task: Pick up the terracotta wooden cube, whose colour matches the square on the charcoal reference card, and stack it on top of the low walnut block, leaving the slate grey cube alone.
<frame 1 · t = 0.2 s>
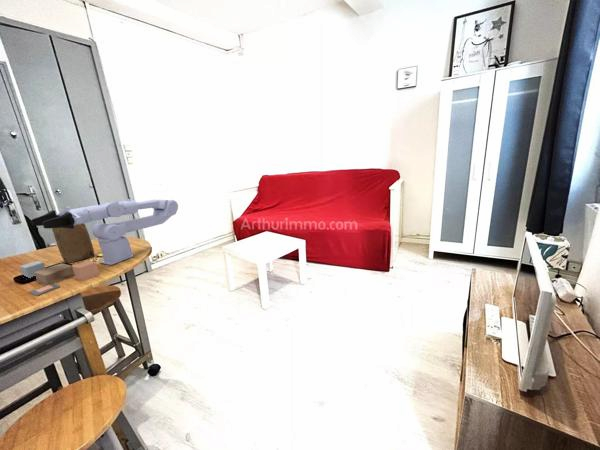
hand: (37, 224, 86), 21 cm above the table, tool horizontal, fingers open, 7 cm apart
reference card: (44, 289, 87), on the table
grey cube: (36, 276, 98), on the table
terracotta cube: (87, 276, 95), on the table
walnut base: (57, 279, 95), on the table
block: (80, 259, 113), on the table
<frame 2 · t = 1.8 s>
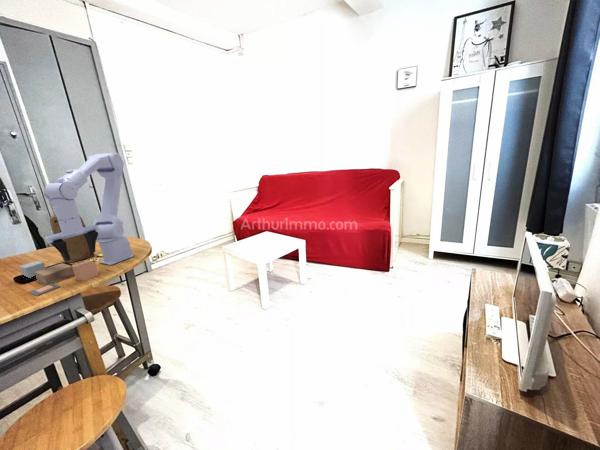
hand: (80, 255, 92), 8 cm above the table, tool pointing down, fingers open, 7 cm apart
nothing on the table moved.
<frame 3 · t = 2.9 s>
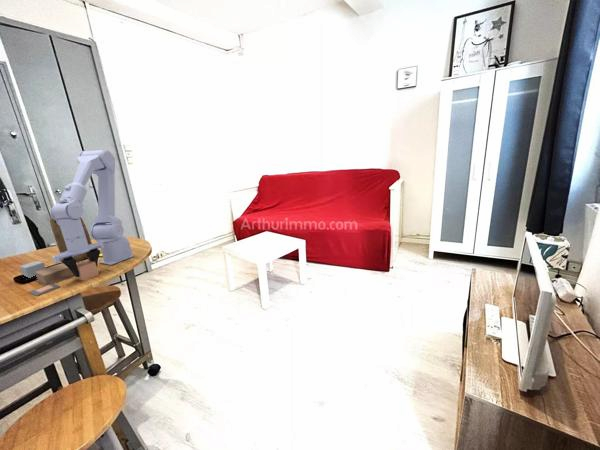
hand: (86, 273, 94), 1 cm above the table, tool pointing down, fingers closed on terracotta cube, 5 cm apart
terracotta cube: (87, 276, 95), on the table, touching gripper
everything else where it was.
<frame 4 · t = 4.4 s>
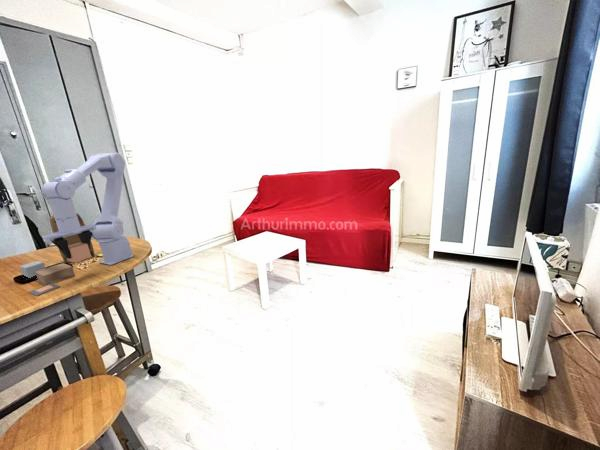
hand: (78, 255, 92), 8 cm above the table, tool pointing down, fingers closed on terracotta cube, 5 cm apart
terracotta cube: (79, 258, 93), point 7 cm above the table, touching gripper
everything else where it was.
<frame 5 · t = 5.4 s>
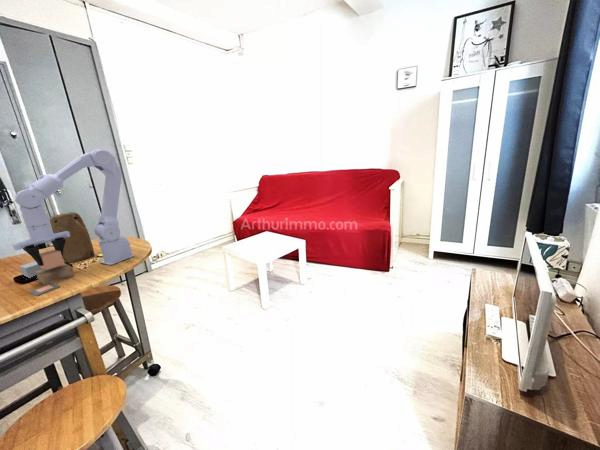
hand: (51, 262, 93), 6 cm above the table, tool pointing down, fingers closed on terracotta cube, 5 cm apart
terracotta cube: (52, 265, 93), point 5 cm above the table, touching gripper
everything else where it was.
when the fingers open (6 cm above the table, at t = 5.9 s): terracotta cube drops 1 cm, point 4 cm above the table.
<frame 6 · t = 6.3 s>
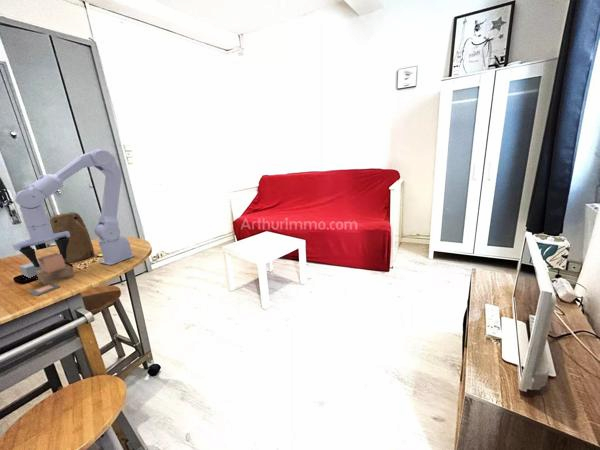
hand: (51, 262, 93), 6 cm above the table, tool pointing down, fingers open, 7 cm apart
terracotta cube: (54, 269, 94), point 4 cm above the table
everything else where it was.
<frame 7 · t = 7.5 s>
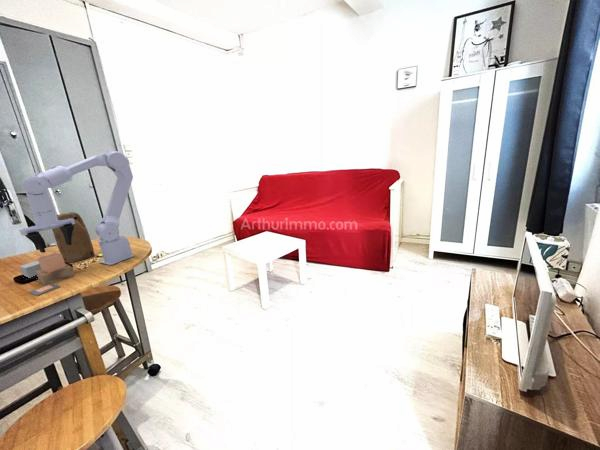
hand: (56, 248, 95), 10 cm above the table, tool pointing down, fingers open, 7 cm apart
nothing on the table moved.
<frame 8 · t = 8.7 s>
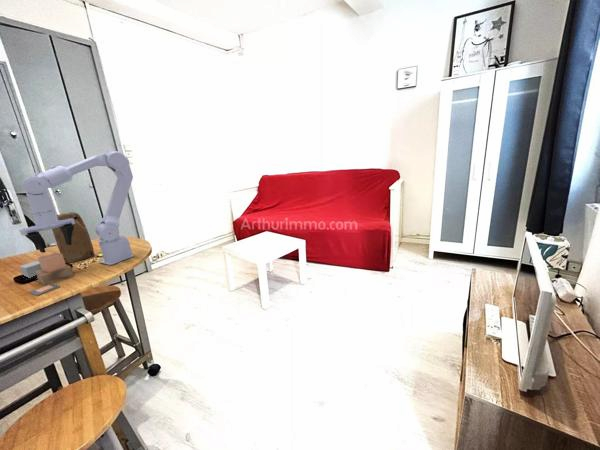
hand: (56, 248, 95), 10 cm above the table, tool pointing down, fingers open, 7 cm apart
terracotta cube: (54, 268, 94), point 4 cm above the table, touching walnut base
walnut base: (56, 279, 95), on the table, touching terracotta cube
everything else where it was.
at the end: terracotta cube 0.3 cm off-centre on the walnut base, point 4.0 cm above the walnut base's base; terracotta cube tilted 0°; the gripper is holding nothing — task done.
